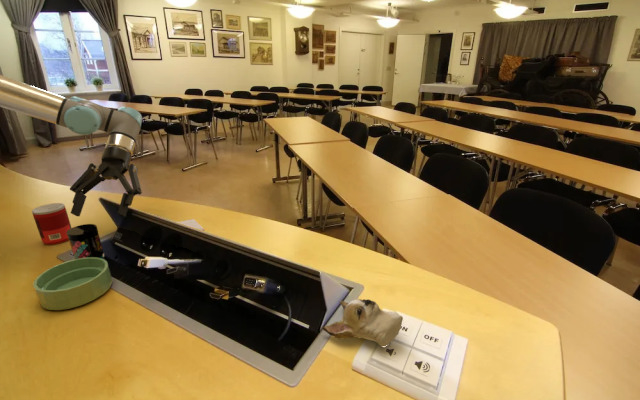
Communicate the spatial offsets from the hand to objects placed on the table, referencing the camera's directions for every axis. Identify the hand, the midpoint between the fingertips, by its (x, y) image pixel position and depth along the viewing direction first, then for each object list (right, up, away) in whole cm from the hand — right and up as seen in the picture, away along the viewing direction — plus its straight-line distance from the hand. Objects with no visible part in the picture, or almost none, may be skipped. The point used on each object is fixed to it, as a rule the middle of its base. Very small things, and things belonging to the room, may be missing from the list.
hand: (98, 215), depth 92 cm
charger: (+23, -9, +8) cm, 26 cm away
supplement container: (0, -13, -2) cm, 14 cm away
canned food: (-20, -8, +11) cm, 24 cm away
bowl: (+5, -18, -14) cm, 24 cm away
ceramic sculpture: (+73, -23, -26) cm, 81 cm away
